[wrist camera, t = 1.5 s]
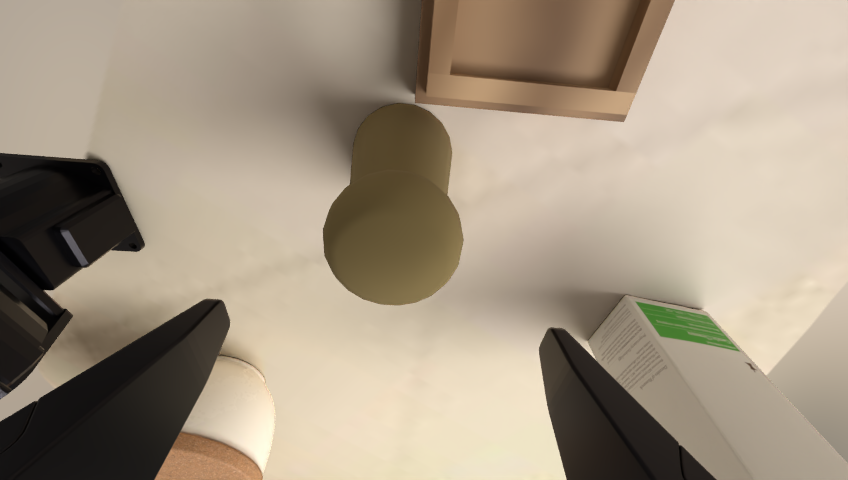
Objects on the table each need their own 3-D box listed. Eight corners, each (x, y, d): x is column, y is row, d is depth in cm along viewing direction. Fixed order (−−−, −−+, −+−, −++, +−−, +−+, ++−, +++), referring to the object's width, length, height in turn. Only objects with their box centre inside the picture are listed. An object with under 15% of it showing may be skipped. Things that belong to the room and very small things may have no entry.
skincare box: (706, 309, 28) (950, 554, 15) (657, 356, 32) (822, 588, 19) (620, 292, 27) (807, 544, 14) (580, 343, 31) (699, 582, 18)
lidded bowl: (156, 319, 28) (28, 468, 19) (305, 356, 31) (258, 498, 22) (157, 397, 34) (62, 536, 25) (280, 421, 37) (236, 552, 28)
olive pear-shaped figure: (332, 148, 20) (260, 259, 11) (408, 78, 18) (398, 142, 9) (398, 215, 23) (386, 350, 13) (471, 161, 20) (515, 277, 11)
